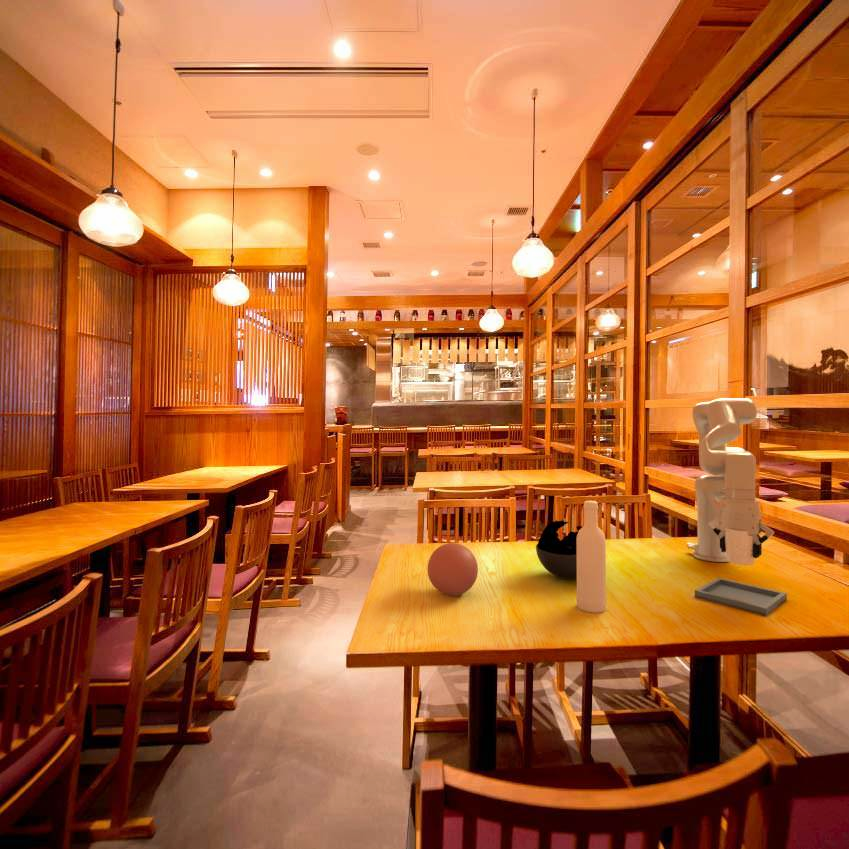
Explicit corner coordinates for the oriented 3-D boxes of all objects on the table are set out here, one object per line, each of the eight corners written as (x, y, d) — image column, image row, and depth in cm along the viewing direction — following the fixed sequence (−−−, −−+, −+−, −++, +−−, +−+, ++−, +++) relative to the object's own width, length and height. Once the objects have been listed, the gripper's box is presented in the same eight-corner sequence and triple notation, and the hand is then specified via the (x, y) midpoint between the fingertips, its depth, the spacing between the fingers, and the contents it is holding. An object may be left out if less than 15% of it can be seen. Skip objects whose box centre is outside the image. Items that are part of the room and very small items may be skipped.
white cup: (751, 559, 143) (751, 526, 143) (760, 567, 135) (760, 532, 135) (721, 557, 145) (721, 524, 145) (728, 564, 138) (728, 530, 138)
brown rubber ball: (463, 578, 159) (463, 533, 159) (485, 600, 140) (485, 548, 140) (419, 582, 156) (418, 536, 156) (435, 605, 136) (434, 552, 136)
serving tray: (694, 597, 142) (694, 590, 142) (718, 583, 153) (718, 577, 153) (766, 616, 128) (766, 608, 128) (786, 600, 139) (786, 593, 139)
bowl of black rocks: (530, 568, 171) (530, 515, 171) (587, 568, 170) (586, 515, 170) (543, 587, 151) (542, 528, 151) (606, 587, 150) (606, 528, 150)
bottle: (602, 615, 129) (602, 504, 128) (573, 609, 133) (572, 502, 133) (608, 605, 135) (608, 500, 135) (580, 600, 140) (580, 498, 139)
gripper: (702, 492, 145) (703, 550, 145) (771, 499, 131) (771, 563, 131) (712, 490, 149) (712, 546, 149) (779, 496, 136) (779, 558, 136)
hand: (740, 553), depth 140 cm, fingers closed on white cup, 7 cm apart
